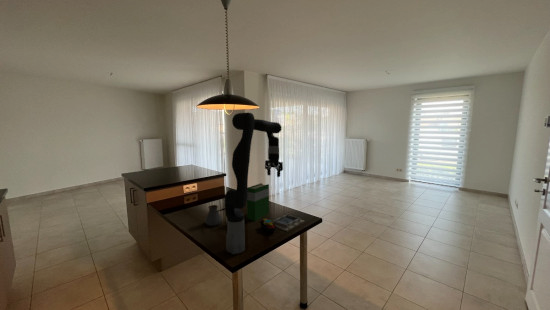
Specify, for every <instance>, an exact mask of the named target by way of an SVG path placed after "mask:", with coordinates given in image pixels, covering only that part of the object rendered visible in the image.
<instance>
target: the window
mask: <svg viewBox="0 0 550 310" xmlns="http://www.w3.org/2000/svg"><path fill="white" fill-rule="evenodd" d="M304 222H305V220H302V219H301V217H298V216H294V215H291V214H285V215H282V216H280V217H278V218H276V219H273V220H272V223H273V224H274V225H276V229H279V230H282V231H285V232H290V231H291V230H293V229H294V228H296V227H297V226H299V225H301V224H303V223H304Z"/></svg>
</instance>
